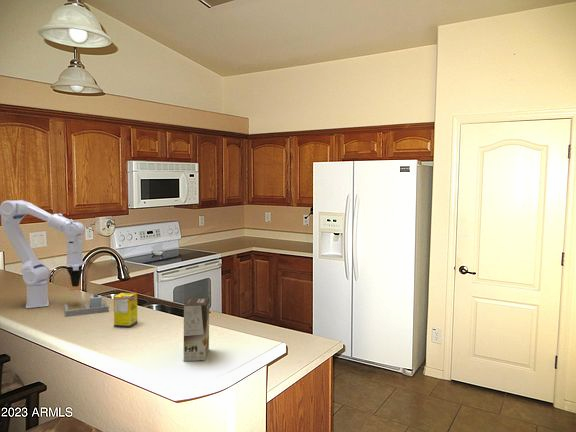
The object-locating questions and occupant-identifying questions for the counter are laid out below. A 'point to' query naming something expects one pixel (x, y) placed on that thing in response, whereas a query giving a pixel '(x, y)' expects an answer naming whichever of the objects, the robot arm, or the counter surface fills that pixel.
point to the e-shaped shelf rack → (86, 309)
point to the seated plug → (95, 301)
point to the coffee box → (196, 329)
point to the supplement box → (125, 309)
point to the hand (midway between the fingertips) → (75, 285)
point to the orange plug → (75, 286)
